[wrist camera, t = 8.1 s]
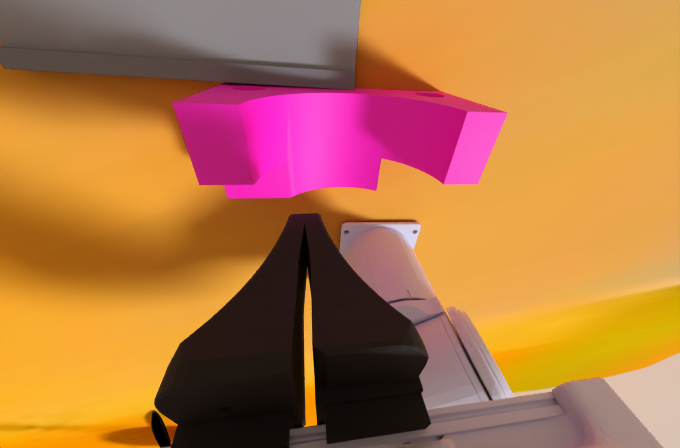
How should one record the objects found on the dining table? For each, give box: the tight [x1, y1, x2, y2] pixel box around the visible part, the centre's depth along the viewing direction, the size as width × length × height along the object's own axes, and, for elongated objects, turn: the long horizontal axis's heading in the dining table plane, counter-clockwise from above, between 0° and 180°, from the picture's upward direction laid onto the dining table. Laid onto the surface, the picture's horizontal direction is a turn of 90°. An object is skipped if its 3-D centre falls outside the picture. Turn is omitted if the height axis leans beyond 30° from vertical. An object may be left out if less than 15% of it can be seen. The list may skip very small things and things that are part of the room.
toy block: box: [172, 83, 507, 198], centre depth 15 cm, size 15×6×8 cm, turn 87°
